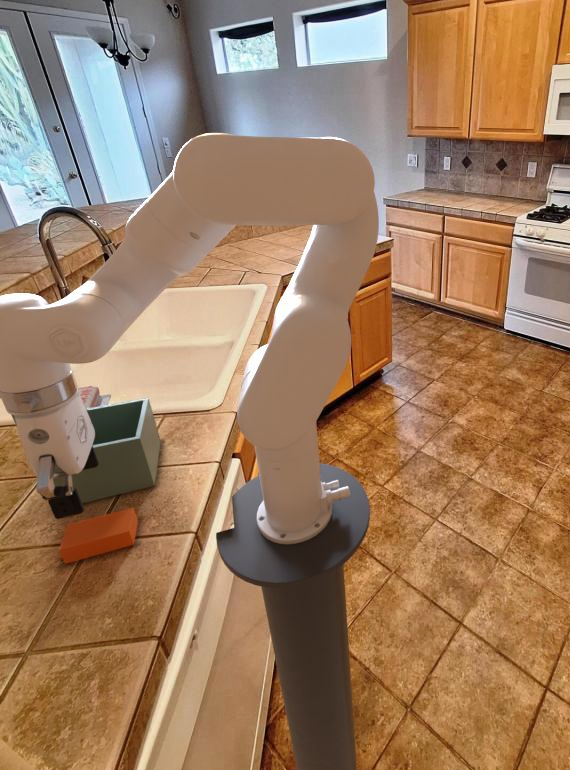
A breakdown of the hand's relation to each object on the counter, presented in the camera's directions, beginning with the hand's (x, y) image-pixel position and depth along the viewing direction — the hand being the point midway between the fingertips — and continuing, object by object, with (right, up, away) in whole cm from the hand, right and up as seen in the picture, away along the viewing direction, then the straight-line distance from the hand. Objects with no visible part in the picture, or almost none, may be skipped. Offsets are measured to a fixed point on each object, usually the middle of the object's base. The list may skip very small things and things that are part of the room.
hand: (79, 489), depth 62 cm
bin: (-7, -3, +19) cm, 20 cm away
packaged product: (-24, +3, +32) cm, 40 cm away
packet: (0, -10, +5) cm, 11 cm away
